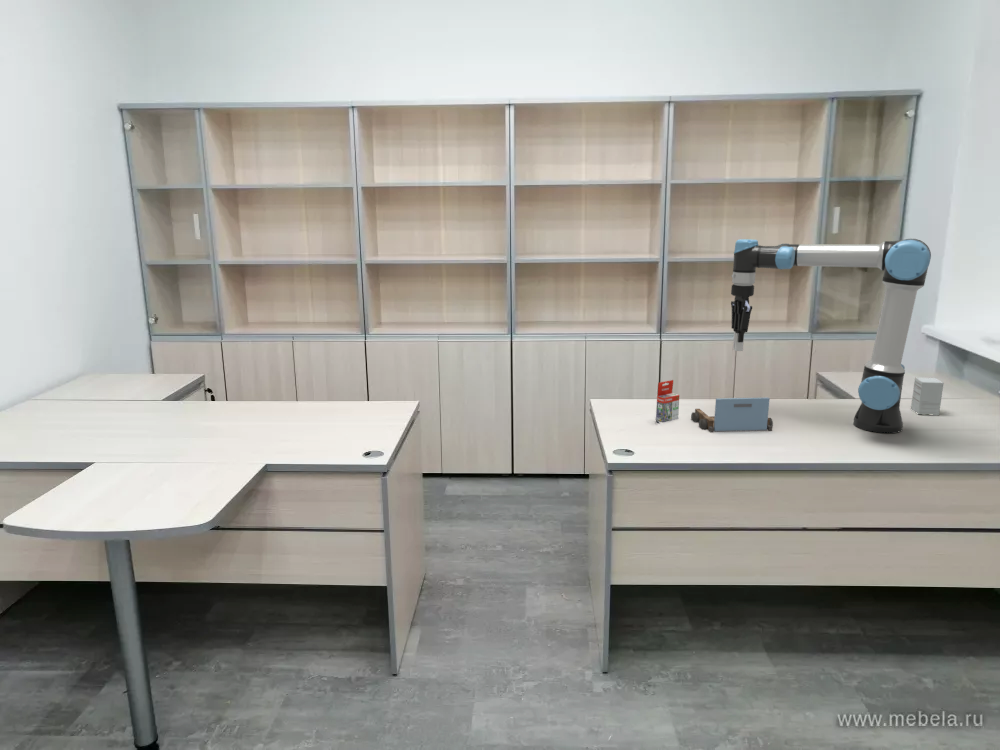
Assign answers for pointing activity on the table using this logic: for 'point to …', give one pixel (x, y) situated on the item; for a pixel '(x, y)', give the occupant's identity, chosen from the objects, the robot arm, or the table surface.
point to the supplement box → (927, 396)
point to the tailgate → (741, 414)
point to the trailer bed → (708, 421)
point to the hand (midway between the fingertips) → (737, 350)
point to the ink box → (666, 403)
